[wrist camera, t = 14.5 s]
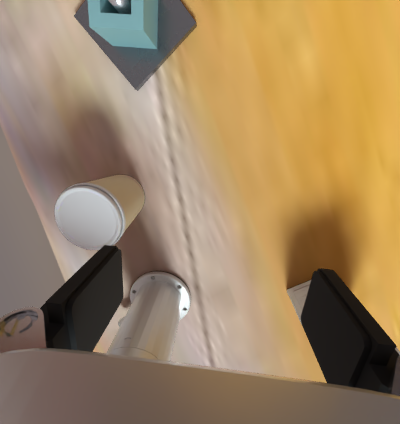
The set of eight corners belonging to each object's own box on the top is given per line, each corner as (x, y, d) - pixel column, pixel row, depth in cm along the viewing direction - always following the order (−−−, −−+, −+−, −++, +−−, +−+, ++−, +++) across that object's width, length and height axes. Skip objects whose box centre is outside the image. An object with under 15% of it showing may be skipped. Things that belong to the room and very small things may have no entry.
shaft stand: (137, 90, 34) (118, 80, 27) (78, 19, 32) (41, -11, 25) (196, 26, 31) (190, -4, 24) (135, -59, 28) (109, -118, 22)
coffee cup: (93, 171, 39) (42, 186, 28) (145, 167, 38) (114, 182, 27) (105, 221, 42) (62, 253, 31) (153, 219, 41) (128, 251, 30)
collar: (157, 49, 31) (143, 30, 26) (112, 45, 31) (89, 26, 26) (158, -10, 29) (143, -44, 23) (110, -12, 29) (84, -47, 24)
